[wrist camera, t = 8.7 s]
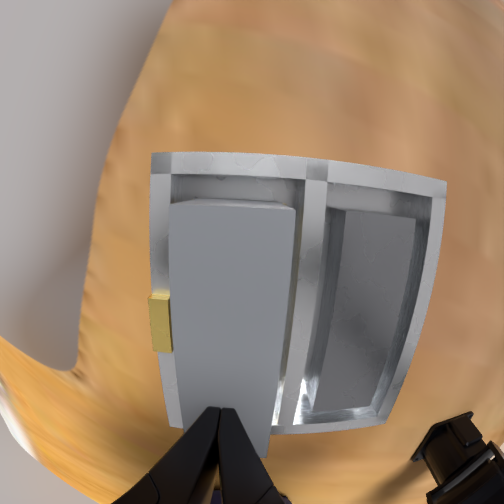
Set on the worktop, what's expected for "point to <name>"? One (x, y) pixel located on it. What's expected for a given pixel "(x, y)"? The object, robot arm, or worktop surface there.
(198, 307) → the panel
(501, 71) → the worktop surface
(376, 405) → the rack
